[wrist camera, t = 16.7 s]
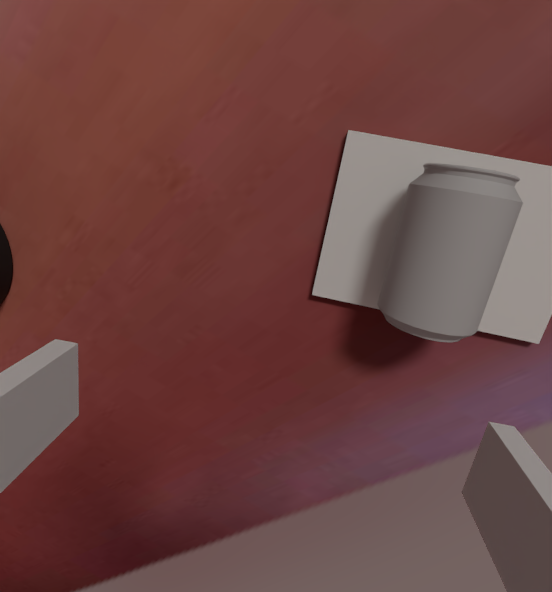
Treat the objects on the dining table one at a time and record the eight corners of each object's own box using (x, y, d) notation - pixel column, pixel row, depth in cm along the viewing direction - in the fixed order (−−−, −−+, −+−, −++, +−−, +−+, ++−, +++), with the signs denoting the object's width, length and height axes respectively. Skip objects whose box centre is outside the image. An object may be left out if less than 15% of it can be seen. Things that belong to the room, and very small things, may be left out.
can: (406, 304, 35) (445, 170, 32) (489, 338, 30) (547, 181, 26) (355, 313, 30) (394, 154, 27) (443, 355, 25) (507, 165, 21)
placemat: (312, 292, 35) (311, 294, 35) (348, 131, 31) (348, 130, 30) (534, 340, 34) (538, 343, 33) (603, 177, 29) (611, 177, 29)
